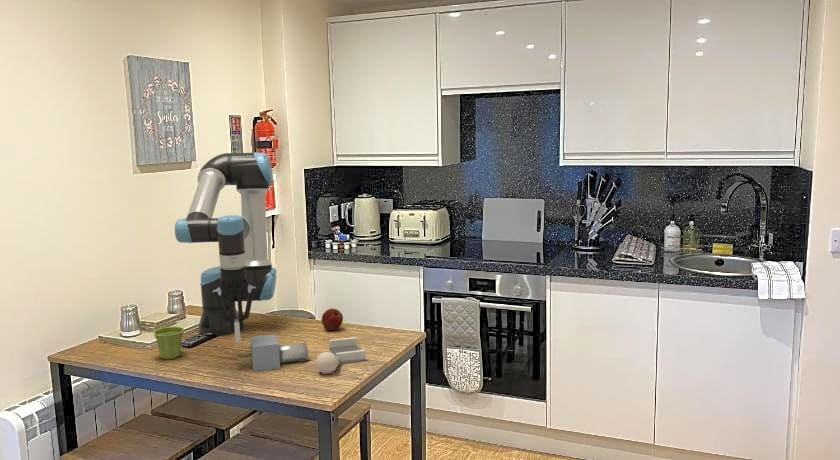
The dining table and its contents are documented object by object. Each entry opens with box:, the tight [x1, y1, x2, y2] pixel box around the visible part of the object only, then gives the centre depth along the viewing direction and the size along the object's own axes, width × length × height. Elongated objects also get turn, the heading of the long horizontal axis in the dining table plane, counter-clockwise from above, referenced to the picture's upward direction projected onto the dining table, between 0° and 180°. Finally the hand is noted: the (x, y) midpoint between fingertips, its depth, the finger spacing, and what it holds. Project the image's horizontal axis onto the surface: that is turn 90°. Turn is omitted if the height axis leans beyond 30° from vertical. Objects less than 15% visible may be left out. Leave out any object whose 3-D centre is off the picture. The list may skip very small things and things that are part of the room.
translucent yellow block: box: [237, 352, 253, 369], centre depth 204 cm, size 4×8×4 cm, turn 105°
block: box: [249, 334, 281, 372], centre depth 204 cm, size 10×8×8 cm
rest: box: [328, 336, 366, 365], centre depth 212 cm, size 14×9×3 cm, turn 18°
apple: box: [321, 307, 344, 331], centre depth 238 cm, size 7×8×8 cm
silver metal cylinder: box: [279, 342, 309, 364], centre depth 207 cm, size 12×6×6 cm, turn 107°
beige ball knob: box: [315, 351, 342, 375], centre depth 199 cm, size 7×7×11 cm
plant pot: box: [152, 326, 185, 360], centre depth 212 cm, size 9×9×9 cm
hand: (237, 340), depth 202 cm, fingers closed
